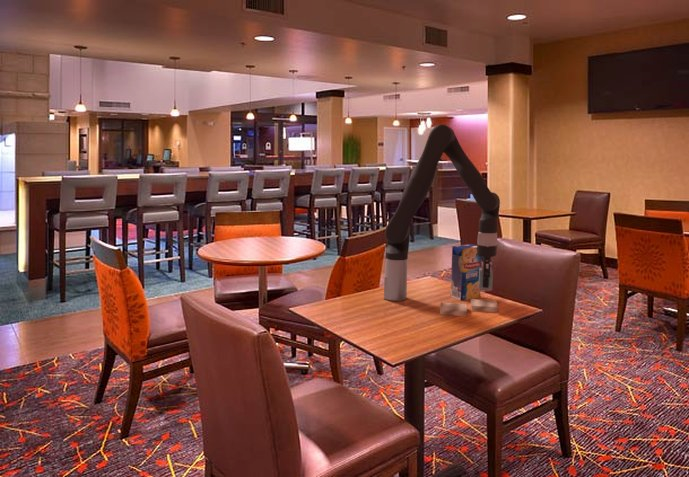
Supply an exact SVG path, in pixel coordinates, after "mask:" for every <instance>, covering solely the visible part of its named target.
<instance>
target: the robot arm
mask: <svg viewBox="0 0 689 477" xmlns="http://www.w3.org/2000/svg"><path fill="white" fill-rule="evenodd" d="M425 142H426V143H425V146H424V149H423V151H422V153H421V155H420V158H419V160H418V161H417V162H416V164H415V166H414V169H413V170H412V172H411V175H410V177H409V179H408V180H407V182H406V185H405V187H404V189H403V193H402V194H401V198H400V200H399V203H398V206H397V208H396V210H395V212H394V214H393V216H392V217H391V219H390V220H389V222H388V224H386V226H385V230H384V235H385V236H384V237H385V238H386V241H387V242H386V250H385V265H384V266H385V267H384V276H383V278H384V279H383V280H384V281H383V300H388V301H394V302H401V301H404V300H407V295H408V294H407V293H408V292H407V288H408V257H409V250H410V226H411V222H412V220H413V219H414V216H415V215H416V212H417V211H418V209H420V207H421V206H422V204H423V203H424V201H425V199H426V198H427V196H428V193H429V192H430V189H431V187H432V186H433V183H434V180H435V177H436V171H437V169H438V168H437V167H438V164H439V162H440V159H441V157H442V156H443V154H445V155H446V156H447V158H448V159H449V160H450V162H451V164H453V166H454V169H455V170H456V172H457V174H458V176H459V177H460V179H461V180H462V182H463V183H464V185H465V186H466V187H467V189H468V190H469V191H470V193H471V194H472V197H473V199H474V201H475V202H476V204H477V206H478V207H479V208H480V209H481V213H480V214H481V216H480V218H479V220H478V234H477V244H476V245H477V255H479V256H482V259H481V268H482V272H483V287H484V288H488V287H489V278H490V272H491V268H492V265H493V264H492V263H493V262H492V259H491V257H492V258H494V257H496V256H497V252H498V217H499V212H500V206H501V205H500V204H501V201H500V196H499V195H498V194H497V193H496V192H494V191H491V190H490V188H489V187H488V185H487V181H486V180H485V177H484V176H483V175H482V174H481V172H480V171H479V170H478V168H477V167H476V166H475V165H474V163H473V162H472V161H471V159H470V158H469V156H468V155H467V154H466V152H465V151H464V149H463V148H462V146H461V144H460V142H459V140H458V138H457V136H456V134H455V132H454V129H452V127H449V126H448V125H446V124H443V123H442V124H436V125H435V126H433V127H432V128H431V130H430V132H429V133H428V137H427V140H426V141H425ZM485 272H487V273H488V275H485Z"/></svg>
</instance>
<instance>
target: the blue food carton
mask: <svg viewBox="0 0 689 477" xmlns="http://www.w3.org/2000/svg"><path fill="white" fill-rule="evenodd" d="M451 246H452V245H451ZM451 248H452V249H451V251H452V252H451V270H450V271H451V273H450V274H451V275H450V289H449V290H450V292H449V293H450V295H449V296H450V298H453V299H456V300H458V301H466V300H471V299H479V298H481V292H482V290H479V288H478V285H479V268H481V259H482V257H483V256H479V255H477V244H471V243H470V244H469V243H468V244H460V245H453V246H452V247H451Z"/></svg>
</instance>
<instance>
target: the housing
mask: <svg viewBox="0 0 689 477" xmlns="http://www.w3.org/2000/svg"><path fill="white" fill-rule="evenodd" d="M485 275H488V273H487V272H485ZM493 276H494V270H493V268H492V267H491V272H490V278H489V287H488V288H484V287H483V272H482V268H479V285H478V288H479V290H481V291H486V292H487V291H488V292H490V291H491V292H492V291H493V280H494V279H493V278H494V277H493Z"/></svg>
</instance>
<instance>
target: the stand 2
mask: <svg viewBox="0 0 689 477" xmlns="http://www.w3.org/2000/svg"><path fill="white" fill-rule="evenodd" d="M470 310H471V312H489V313H499V306H498V302H497V300H495V299H494V300H493V299H479V298H473V299H470Z"/></svg>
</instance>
